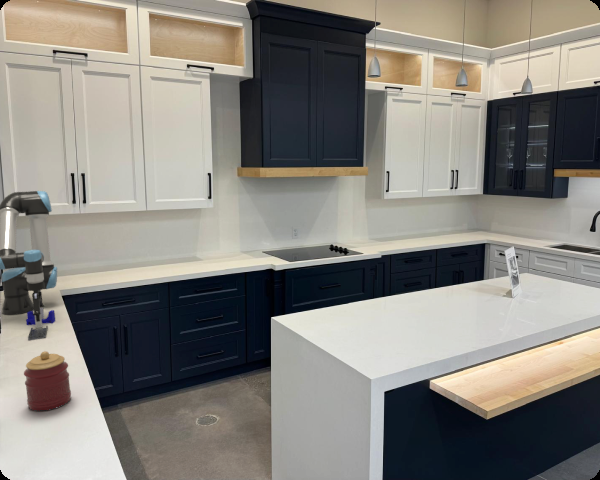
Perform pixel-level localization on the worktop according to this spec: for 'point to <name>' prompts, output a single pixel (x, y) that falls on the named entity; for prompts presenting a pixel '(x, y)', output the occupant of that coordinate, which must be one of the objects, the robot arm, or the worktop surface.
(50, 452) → the worktop surface
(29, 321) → the cable clip
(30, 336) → the rail
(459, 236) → the worktop surface
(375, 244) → the worktop surface
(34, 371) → the canister
